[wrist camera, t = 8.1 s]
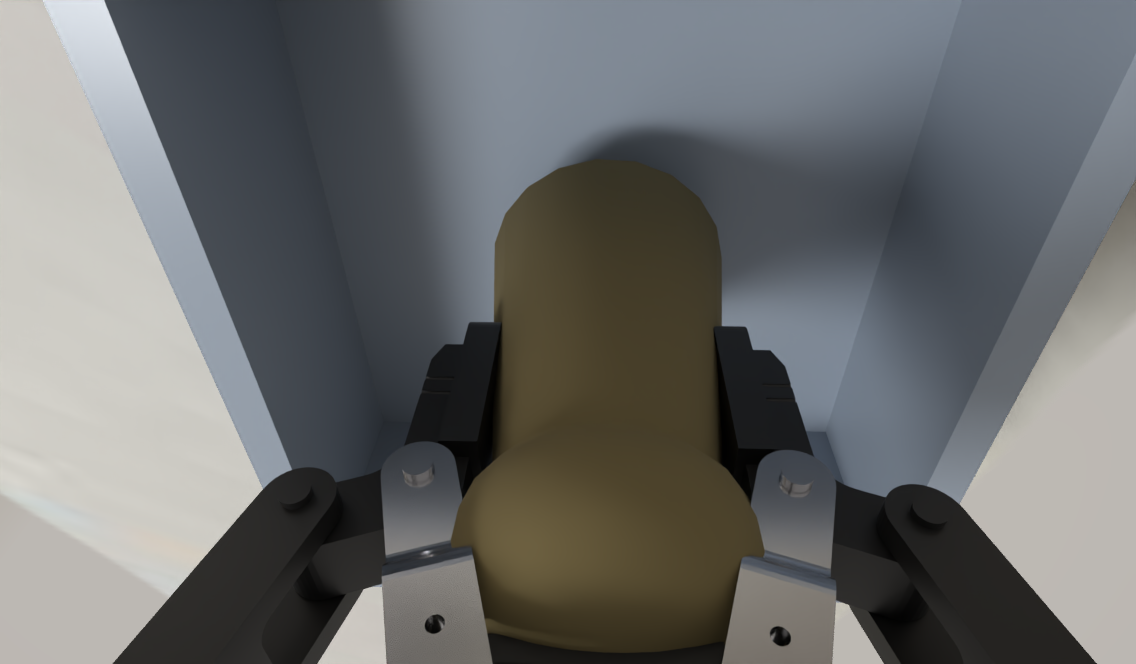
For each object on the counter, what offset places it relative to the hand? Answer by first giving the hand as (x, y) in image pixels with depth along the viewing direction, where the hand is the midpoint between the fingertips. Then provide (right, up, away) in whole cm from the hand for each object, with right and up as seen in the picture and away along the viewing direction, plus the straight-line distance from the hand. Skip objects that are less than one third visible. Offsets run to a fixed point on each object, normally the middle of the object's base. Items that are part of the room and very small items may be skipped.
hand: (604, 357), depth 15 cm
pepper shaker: (0, +2, +3) cm, 4 cm away
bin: (0, +4, +5) cm, 7 cm away
